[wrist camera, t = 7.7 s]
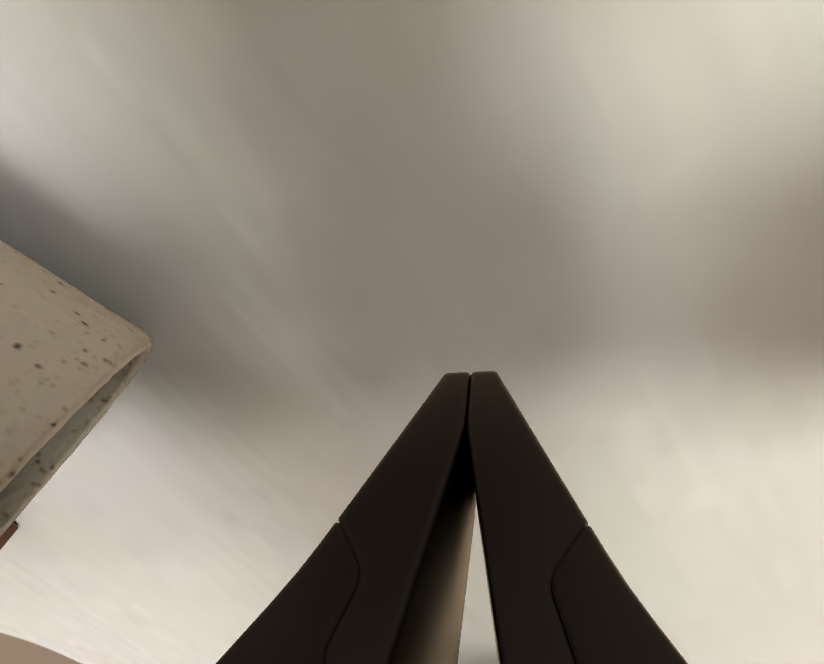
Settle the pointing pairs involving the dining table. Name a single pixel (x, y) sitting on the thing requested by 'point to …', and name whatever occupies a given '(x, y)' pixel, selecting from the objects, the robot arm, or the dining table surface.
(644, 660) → the robot arm
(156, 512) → the dining table surface
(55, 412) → the ceramic mug
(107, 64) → the dining table surface
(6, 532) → the walnut board
